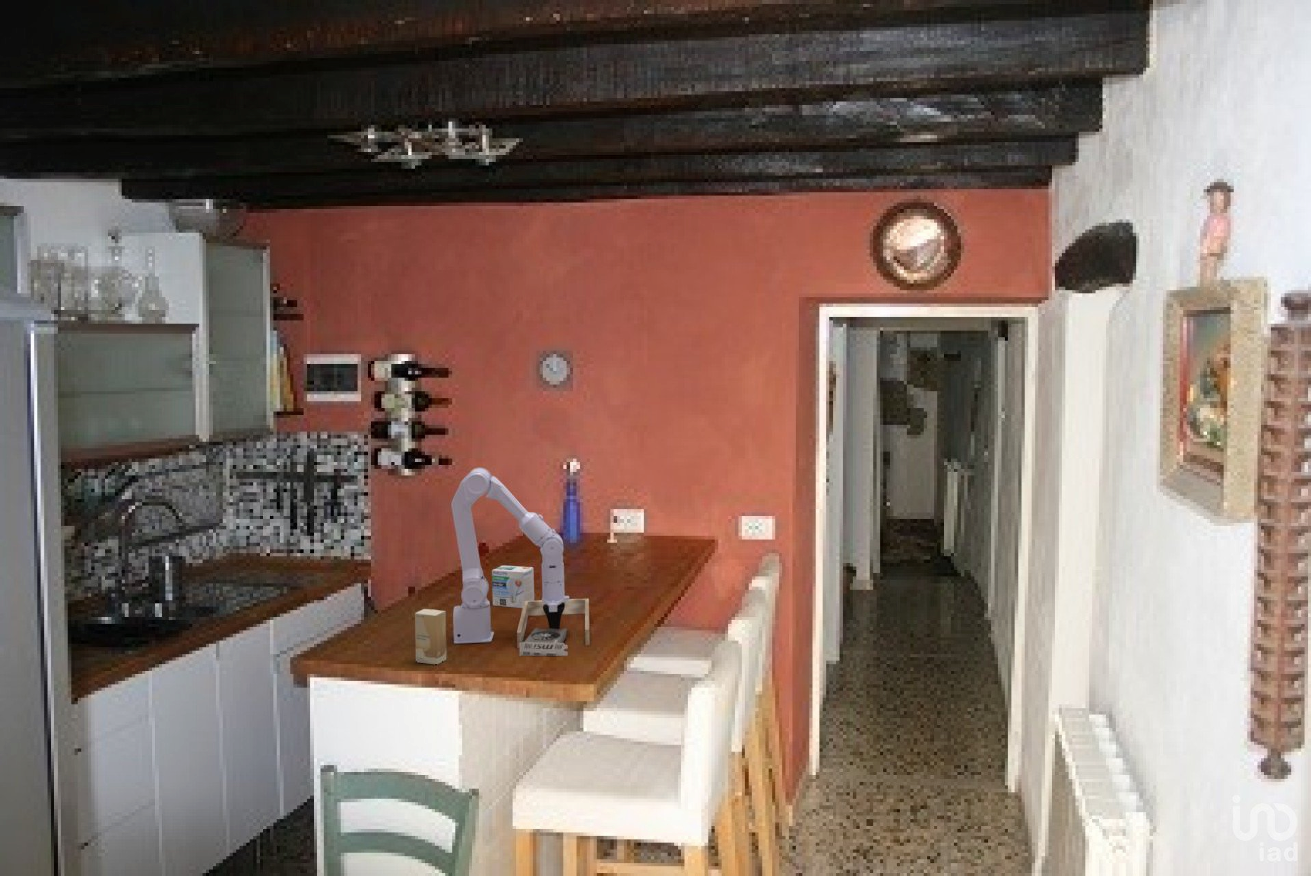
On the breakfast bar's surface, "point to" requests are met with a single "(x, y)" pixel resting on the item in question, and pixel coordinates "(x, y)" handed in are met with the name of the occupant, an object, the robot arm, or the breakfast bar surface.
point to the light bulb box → (512, 586)
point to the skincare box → (430, 636)
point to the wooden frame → (537, 609)
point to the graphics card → (544, 643)
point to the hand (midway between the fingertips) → (554, 631)
